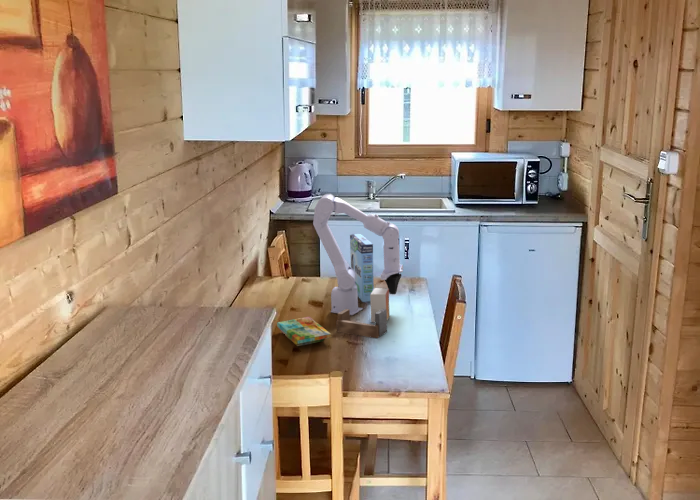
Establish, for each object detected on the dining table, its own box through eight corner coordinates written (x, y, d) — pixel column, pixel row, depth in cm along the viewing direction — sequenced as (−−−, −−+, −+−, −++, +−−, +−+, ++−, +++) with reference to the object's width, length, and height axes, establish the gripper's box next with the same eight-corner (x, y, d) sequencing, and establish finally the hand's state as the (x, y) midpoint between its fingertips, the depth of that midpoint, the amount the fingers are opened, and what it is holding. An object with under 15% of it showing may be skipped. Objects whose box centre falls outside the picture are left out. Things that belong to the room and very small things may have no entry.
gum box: (351, 288, 289) (349, 234, 284) (363, 287, 290) (361, 233, 285) (362, 302, 271) (360, 244, 265) (375, 301, 272) (373, 243, 266)
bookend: (375, 336, 235) (374, 313, 233) (383, 331, 239) (382, 308, 237) (379, 336, 234) (378, 314, 232) (387, 331, 238) (386, 309, 237)
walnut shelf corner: (336, 331, 240) (335, 314, 239) (346, 325, 246) (345, 308, 245) (376, 338, 233) (376, 321, 231) (386, 331, 239) (386, 314, 237)
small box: (386, 323, 247) (385, 294, 244) (370, 322, 248) (369, 294, 245) (390, 315, 254) (389, 287, 252) (374, 315, 256) (373, 287, 253)
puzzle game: (308, 314, 246) (331, 331, 228) (309, 326, 247) (331, 344, 229) (276, 319, 241) (297, 337, 224) (277, 332, 243) (298, 351, 225)
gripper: (392, 263, 247) (393, 300, 250) (410, 254, 259) (411, 289, 262) (374, 261, 250) (376, 298, 253) (393, 252, 262) (394, 287, 266)
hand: (392, 293), depth 258 cm, fingers closed
